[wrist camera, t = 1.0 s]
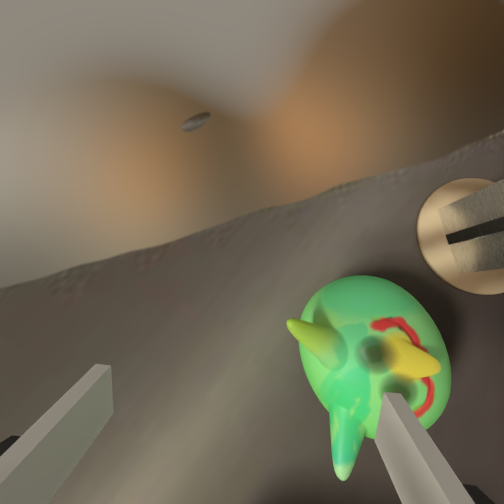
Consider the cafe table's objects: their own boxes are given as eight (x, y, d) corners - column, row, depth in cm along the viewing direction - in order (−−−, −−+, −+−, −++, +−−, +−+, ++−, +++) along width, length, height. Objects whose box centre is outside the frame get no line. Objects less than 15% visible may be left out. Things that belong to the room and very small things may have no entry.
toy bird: (424, 382, 37) (534, 438, 23) (313, 429, 36) (355, 517, 22) (370, 264, 40) (437, 245, 26) (266, 304, 39) (275, 308, 25)
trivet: (552, 280, 40) (558, 279, 39) (438, 306, 39) (442, 306, 38) (508, 170, 42) (513, 167, 42) (401, 192, 42) (404, 190, 41)
